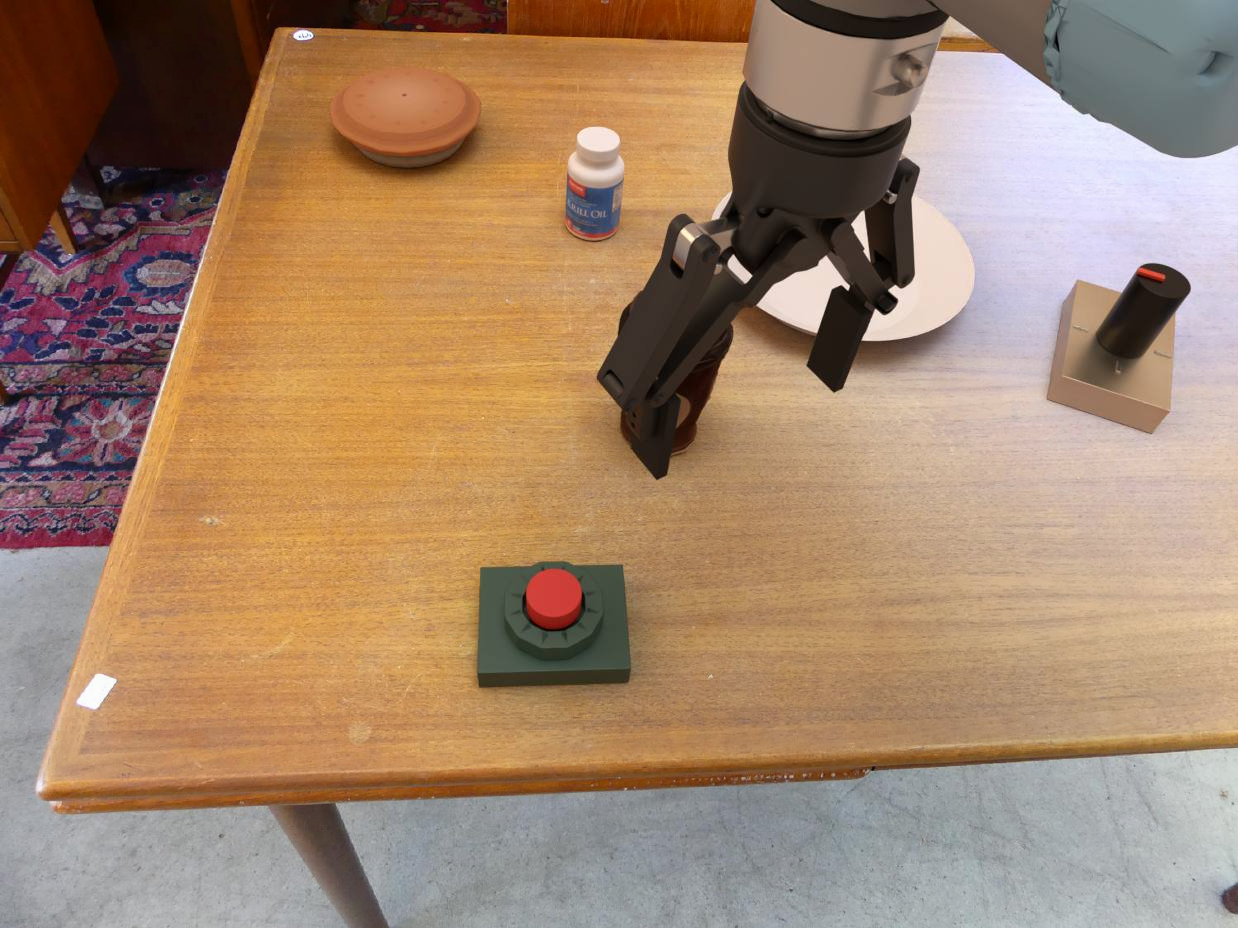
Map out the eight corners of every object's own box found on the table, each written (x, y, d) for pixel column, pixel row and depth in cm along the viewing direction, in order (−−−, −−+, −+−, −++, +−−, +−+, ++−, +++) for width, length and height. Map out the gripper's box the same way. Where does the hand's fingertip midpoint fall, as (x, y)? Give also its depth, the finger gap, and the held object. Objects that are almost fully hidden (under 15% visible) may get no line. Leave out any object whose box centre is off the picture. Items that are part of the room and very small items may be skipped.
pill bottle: (556, 234, 90) (558, 146, 82) (575, 203, 93) (579, 116, 86) (609, 248, 89) (616, 161, 82) (626, 216, 92) (634, 129, 85)
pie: (352, 93, 103) (345, 50, 99) (490, 105, 103) (489, 62, 99) (319, 174, 93) (309, 130, 89) (471, 187, 94) (468, 144, 90)
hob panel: (1151, 433, 79) (1171, 409, 77) (1046, 399, 81) (1062, 374, 78) (1158, 332, 87) (1177, 307, 85) (1063, 302, 89) (1078, 277, 86)
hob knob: (1148, 333, 82) (1194, 270, 77) (1145, 364, 80) (1192, 301, 74) (1098, 317, 83) (1140, 253, 78) (1094, 347, 81) (1136, 284, 75)
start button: (579, 581, 62) (580, 567, 61) (582, 629, 60) (583, 616, 58) (526, 582, 62) (526, 568, 60) (526, 630, 59) (526, 617, 58)
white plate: (997, 263, 92) (1011, 234, 89) (898, 412, 78) (912, 384, 76) (778, 168, 99) (785, 139, 97) (654, 289, 86) (658, 259, 83)
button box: (620, 579, 66) (625, 550, 63) (628, 682, 62) (633, 656, 58) (481, 582, 66) (479, 552, 62) (478, 687, 61) (475, 660, 58)
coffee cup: (675, 488, 72) (698, 373, 62) (586, 441, 74) (594, 323, 64) (726, 419, 77) (755, 302, 66) (641, 377, 79) (657, 258, 69)
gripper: (634, 231, 32) (600, 551, 49) (1085, 68, 42) (928, 382, 59) (528, 124, 36) (531, 456, 53) (966, -4, 46) (850, 311, 62)
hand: (740, 418), depth 56 cm, fingers open, 13 cm apart
